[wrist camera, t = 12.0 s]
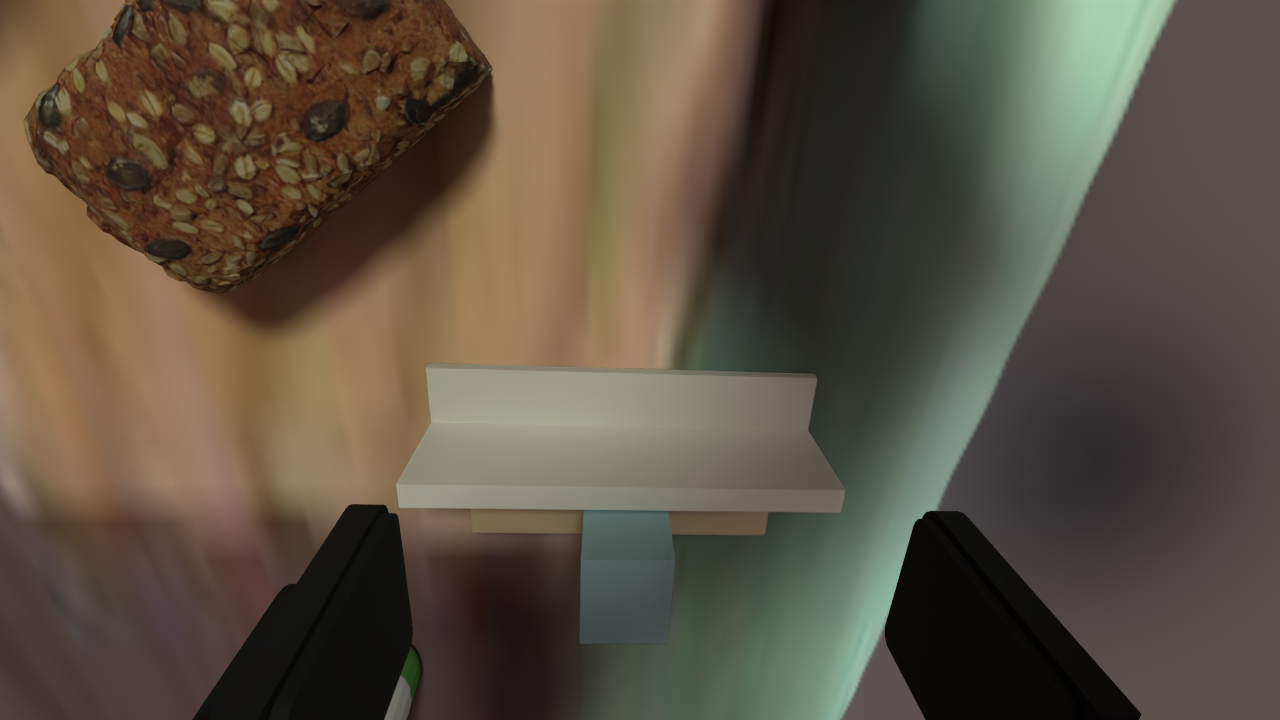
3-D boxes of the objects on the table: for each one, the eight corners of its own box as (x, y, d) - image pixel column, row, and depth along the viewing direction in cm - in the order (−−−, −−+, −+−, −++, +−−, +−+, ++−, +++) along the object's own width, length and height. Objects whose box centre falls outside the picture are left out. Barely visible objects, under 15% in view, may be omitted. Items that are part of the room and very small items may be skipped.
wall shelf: (429, 363, 39) (388, 421, 32) (813, 373, 41) (859, 431, 34) (441, 496, 43) (407, 575, 36) (790, 500, 45) (826, 577, 38)
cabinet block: (585, 473, 38) (580, 559, 31) (662, 474, 39) (675, 560, 31) (584, 561, 41) (579, 659, 34) (655, 561, 42) (666, 658, 34)
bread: (372, -111, 29) (265, -211, 20) (512, 82, 33) (476, 71, 24) (128, 124, 33) (-57, 130, 24) (279, 275, 37) (170, 331, 27)
